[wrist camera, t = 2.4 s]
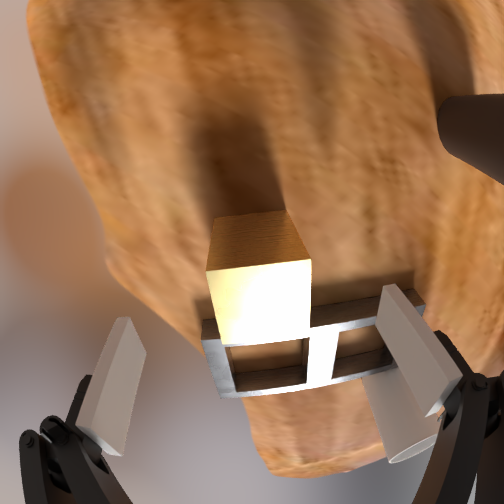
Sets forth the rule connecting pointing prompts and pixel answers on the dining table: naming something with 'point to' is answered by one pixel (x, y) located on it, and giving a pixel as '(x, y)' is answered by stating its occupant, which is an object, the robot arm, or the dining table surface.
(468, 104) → the coffee cup
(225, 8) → the dining table surface
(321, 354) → the grey flat frame
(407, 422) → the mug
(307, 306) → the pale yellow block
